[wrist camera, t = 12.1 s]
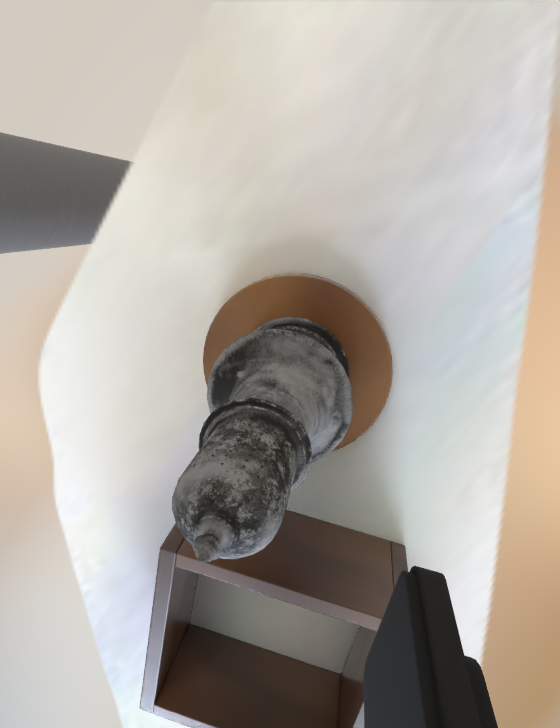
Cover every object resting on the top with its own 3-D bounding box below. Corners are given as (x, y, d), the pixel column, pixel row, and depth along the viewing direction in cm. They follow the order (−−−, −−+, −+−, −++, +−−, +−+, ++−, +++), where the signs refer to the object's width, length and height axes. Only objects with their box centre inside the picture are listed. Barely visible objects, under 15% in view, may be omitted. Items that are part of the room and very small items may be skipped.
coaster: (196, 423, 23) (192, 428, 22) (221, 253, 20) (217, 254, 19) (362, 470, 22) (362, 477, 21) (417, 299, 19) (418, 301, 18)
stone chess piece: (369, 415, 20) (370, 659, 9) (253, 437, 22) (135, 667, 11) (337, 295, 19) (292, 411, 8) (216, 327, 20) (32, 463, 9)
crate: (176, 628, 28) (138, 709, 24) (199, 484, 24) (159, 547, 20) (350, 687, 27) (346, 784, 22) (405, 545, 23) (414, 629, 18)
